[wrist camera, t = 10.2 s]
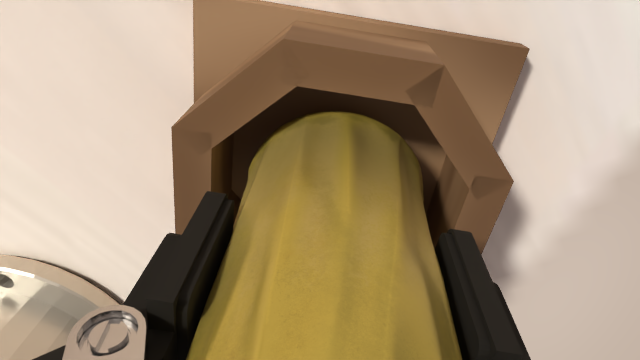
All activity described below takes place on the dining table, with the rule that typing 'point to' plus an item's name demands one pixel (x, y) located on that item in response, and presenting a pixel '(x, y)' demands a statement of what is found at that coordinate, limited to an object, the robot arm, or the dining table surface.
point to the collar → (346, 101)
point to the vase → (329, 253)
